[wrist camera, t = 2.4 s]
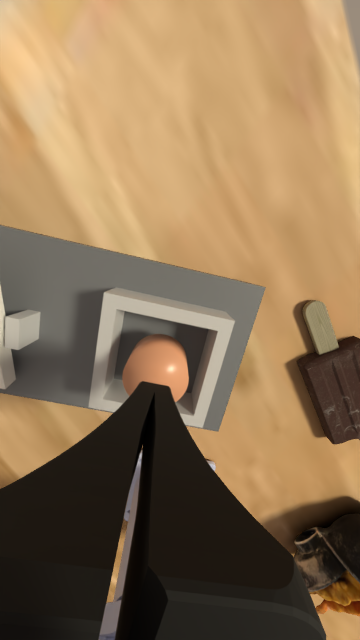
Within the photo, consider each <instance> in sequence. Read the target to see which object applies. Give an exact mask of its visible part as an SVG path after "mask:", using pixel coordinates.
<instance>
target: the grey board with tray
mask: <svg viewBox="0 0 360 640" xmlns="http://www.w3.org/2000/svg"><path fill="white" fill-rule="evenodd" d="M0 286H1V292H2V298H3V304H4V310H5V316H6V317H5V348H10V349H11V352H12V358H13V364H14V370H15V376H16V380H15V381H14V382H13V383H12V384H11V385H9V386H8V387H7V388H6V389H0V393H4V394H10V395H16V396H21V397H27V398H32V399H38V400H44V401H49V402H55V403H60V404H66V405H72V406H77V407H83V408H89V409H94V410H100V411H105V412H111V413H114V412H115V411H116V410H117V409H118V408H119V407H120V406H121V405H122V404H123V403H124V402H125V401H126V400H127V399H128V398H129V395H128V394H127V392H126V390H125V388H124V385H123V381H122V375H123V370H124V367H125V365H126V363H127V361H128V359H129V357H130V355H131V353H132V351H133V349H134V347H135V345H136V344H137V343H138V342H139V341H140V340H141V339H143V338H144V337H146V336H149V335H152V334H165V335H168V336H171V337H173V338H175V339H176V340H177V341H178V342H179V343H180V344H181V345H182V346H183V348H184V350H185V352H186V358H187V367H188V376H189V382H188V387H187V389H186V391H185V393H184V395H183V396H182V397H181V398H180V399H179V400H178V401H177V402H175V403H176V406H177V408H178V411H179V413H180V415H181V417H182V419H183V422H184V424H185V426H190V427H195V428H201V429H207V430H212V431H219V428H220V425H221V422H222V419H223V416H224V413H225V410H226V406H227V403H228V400H229V397H230V394H231V391H232V388H233V385H234V382H235V379H236V376H237V373H238V370H239V367H240V364H241V361H242V358H243V355H244V352H245V349H246V346H247V342H248V339H249V336H250V333H251V330H252V327H253V324H254V321H255V318H256V315H257V312H258V309H259V306H260V303H261V300H262V297H263V294H264V291H265V288H266V287H262V286H258V285H255V284H251V283H247V282H242V281H238V280H234V279H230V278H225V277H221V276H217V275H213V274H208V273H204V272H200V271H195V270H191V269H187V268H183V267H178V266H174V265H170V264H165V263H161V262H157V261H153V260H148V259H144V258H140V257H136V256H131V255H127V254H123V253H118V252H114V251H110V250H106V249H101V248H97V247H93V246H89V245H84V244H80V243H76V242H71V241H67V240H63V239H59V238H54V237H50V236H46V235H42V234H37V233H33V232H29V231H24V230H20V229H16V228H12V227H7V226H3V225H0Z"/></svg>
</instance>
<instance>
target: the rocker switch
mask: <svg viewBox="0 0 360 640" xmlns="http://www.w3.org/2000/svg"><path fill="white" fill-rule="evenodd" d="M5 317H6V316H5V310H4V304H3V298H2V292H1V286H0V389H6V388H7V387H8V386H9V385H11V384H12V383H13V382H14V381H15V380H16V376H15V370H14V364H13V358H12V352H11V349H10V348H5Z"/></svg>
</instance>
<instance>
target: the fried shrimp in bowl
mask: <svg viewBox="0 0 360 640" xmlns="http://www.w3.org/2000/svg"><path fill="white" fill-rule="evenodd" d="M295 545H296V546H297V548H298V551H297V552H296V553H295V555H294V560H295V562H296V564H297V567H298V569H299V571H300V573H301V575H302V577H303V579H304V581H305V584H306V586H307V588H308V591H309V593H310V594H316V593H317V594H318V595H319V596H321V597H322V598H323V599H324V600H323V602H322V603H321V605H319V606H317V607H316V608H315V609H316V611H317V614H324V613H325V612H326V611H327V610H333V611H337V612H346V613H349V614H354V615H357V616H360V513H359V514H346V515H344V516H342V517H340V518H338V519H337V520H336V521H335V522H334V523H333V524H332V525H331V526H330V527H328V528H321V527H314V528H311V529H308V530H306V531H304V532H302V533H301V534H300V535H299V536H298V537H297V538H296V539H295Z"/></svg>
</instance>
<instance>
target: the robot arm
mask: <svg viewBox="0 0 360 640" xmlns="http://www.w3.org/2000/svg"><path fill="white" fill-rule="evenodd" d="M142 445H143V449H142ZM141 449H142V450H141ZM215 469H216V466H215V463H214V462H212V461H207V460H206V459H205V458H204V456H203V455H202V453H201V452H200V450H199V449H198V447H197V445H196V444H195V442H194V440H193V439H192V437H191V435H190V433H189V431H188V429H187V428H186V426H185V424H184V422H183V419H182V417H181V415H180V413H179V411H178V408H177V406H176V403H175V401H174V398H173V395H172V392H171V389H170V387H169V386H166V385H161V384H155V383H150V382H145V381H142V382H140V383H139V384H138V386H137V388H136V389H135V390H134V392H133V393H132V394H131V395H130V396H129V398H128V399H127V400H126V401H125V402H124V403H123V404H122V405H121V406H120V407H119V408H118V409H117V410H116V411H115V412H114V413H113V414H112V415H111V416H110V417H109V418H108V419H107V420H106V421H104V422H103V423H102V424H101V425H100V426H99V427H97V428H96V429H95V430H94V431H92V432H91V433H90V434H89V435H87V436H86V437H85V438H83V439H82V440H81V441H79V442H78V443H76V444H75V445H74V446H72V447H71V448H69V449H68V450H66V451H65V452H63V453H62V454H60V455H59V456H57V457H56V458H54V459H53V460H51V461H49V462H48V463H46V464H44V465H43V466H41V467H39V468H38V469H36V470H34V471H33V472H31V473H29V474H28V475H26V476H24V477H22V478H21V479H19V480H17V481H15V482H13V483H12V484H10V485H8V486H6V487H4V488H2V489H0V640H326V634H325V631H324V629H323V626H322V624H321V621H320V619H319V616H318V614H317V611H316V609H315V606H314V603H313V601H312V598H311V596H310V593H309V591H308V588H307V586H306V584H305V581H304V579H303V577H302V575H301V573H300V571H299V569H298V567H297V564H296V562H295V560H294V558H293V556H292V555H291V554H290V553H289V552H288V551H287V550H286V549H285V548H284V547H283V546H282V545H281V544H280V543H279V542H278V541H277V540H276V539H275V538H274V537H273V536H272V535H271V534H270V533H269V532H268V531H267V530H266V529H265V528H264V527H263V526H262V525H261V524H260V523H259V522H258V521H257V520H256V519H255V518H254V517H253V516H252V515H251V514H250V513H249V512H248V511H247V510H246V508H245V507H244V506H243V505H242V504H241V503H240V502H239V501H238V500H237V499H236V497H235V496H234V495H233V494H232V493H231V492H230V490H229V489H228V488H227V487H226V485H225V484H224V483H223V482H222V480H221V479H220V478H219V477H218V475H217V474H216V473H215ZM128 494H129V496H128ZM127 498H128V500H127ZM126 503H127V505H126ZM125 508H126V509H125ZM124 513H125V514H124ZM123 518H124V519H125V520H126V521H128V525H127V530H126V536H125V541H124V546H123V552H122V557H121V563H120V568H119V573H118V579H117V584H116V589H115V595H114V600H113V602H108V603H106V601H107V596H108V592H109V587H110V582H111V577H112V572H113V567H114V562H115V557H116V552H117V547H118V542H119V537H120V533H121V528H122V523H123Z"/></svg>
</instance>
